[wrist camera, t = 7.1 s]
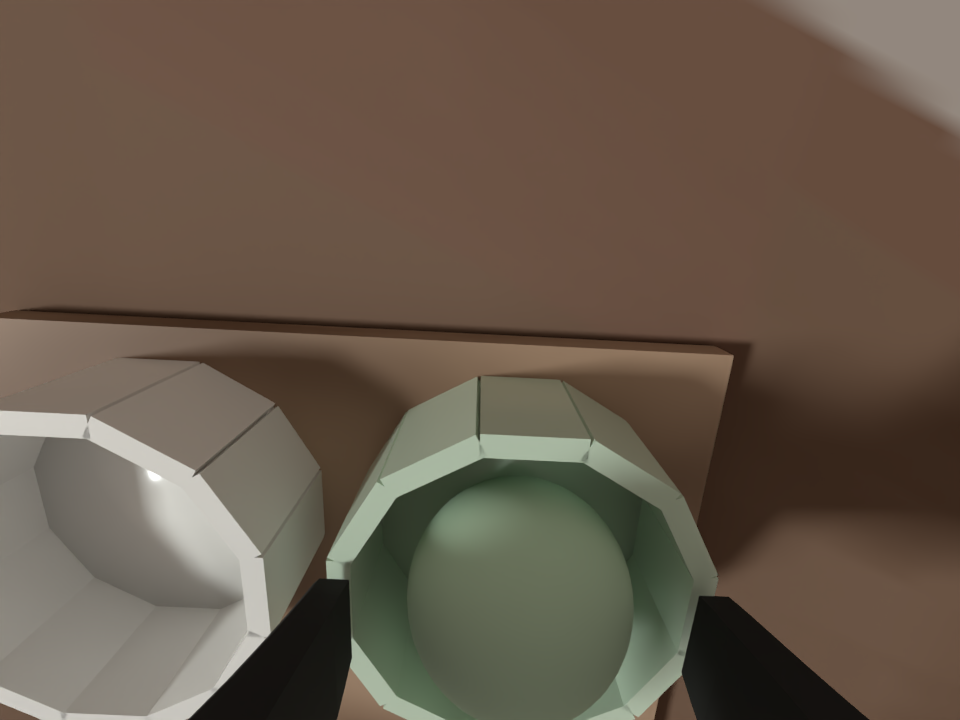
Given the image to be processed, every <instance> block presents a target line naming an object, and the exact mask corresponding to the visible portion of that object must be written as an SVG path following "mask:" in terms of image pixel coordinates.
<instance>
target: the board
mask: <svg viewBox="0 0 960 720" xmlns="http://www.w3.org/2000/svg"><path fill="white" fill-rule="evenodd" d="M115 358H116V359H117V358H136V359H156V360H176V361H196V362H200V364H201V363H204V364H206V365H208V366H210V367H212V368H213V369H215V370H217V371H219V372H220V373H222V374H224V375H226V376H228V377H229V378H231V379H233V380H235V381H237V382H238V383H240V384H242V385H244V386H245V387H247V388H249V389H251V390H253V391H254V392H256V393H258V394H260V395H262V396H263V397H265V398H267V399H269V400H270V401H272V402H274V403H275V405H274V408H275V407H277V406H279V408H280V409H281V411H282V412H283V413H284V415H285V416H286V418H287V419H288V421H289V422H290V424H291V425H292V427H293V428H294V430H295V431H296V432H297V434H298V435H299V437H300V438H301V440H302V441H303V443H304V444H305V446H306V447H307V449H308V450H309V451H310V453H311V454H312V456H313V457H314V459H315V460H316V462H317V463H318V465H319V466H320V469H319V470H321V471H322V489H323V507H324V525H325V534H324V538H323V540H322V541H321V543H320V545H319V547H318V549H317V551H316V553H315V555H314V557H313V559H312V561H311V563H310V565H309V567H308V569H307V571H306V573H305V574H304V576H303V578H302V580H301V582H300V584H299V586H298V588H297V590H296V592H295V594H294V596H293V598H292V600H291V602H290V604H289V605H288V607H287V609H286V611H285V613H284V615H283V617H282V619H281V621H282V620H283V619H284V617H285V616H286V615H287V614H288V613H289V612H290V610H291V609H292V608H293V607H294V606H295V605H296V603H297V602H298V601H299V600H300V599H301V598H302V596H303V595H304V594H305V593H306V592H307V591H308V589H309V588H310V587H311V586H312V585H313V583H314V582H316V581H317V580H318V579H319V578H322V579H327V571H326V560H327V556H328V554H329V552H330V550H331V548H332V545H333V543H334V541H335V539H336V537H337V535H338V533H339V531H340V529H341V526H342V524H343V522H344V520H345V518H346V516H347V514H348V512H349V510H350V507H351V505H352V503H353V501H354V499H355V497H356V495H357V493H358V491H359V488H360V486H361V484H362V482H363V480H364V478H365V476H366V474H367V472H368V470H369V468H370V466H371V465H372V463H373V462H374V460H375V459H376V457H377V456H378V454H379V453H380V451H381V450H382V448H383V446H384V445H385V443H386V442H387V440H388V439H389V437H390V436H391V434H392V433H393V431H394V429H395V428H396V426H397V425H398V423H399V422H400V420H401V419H402V417H403V416H404V414H405V413H406V412H408V410H409V409H411V408H413V407H415V406H417V405H419V404H421V403H423V402H426V401H428V400H430V399H432V398H434V397H436V396H438V395H440V394H442V393H444V392H446V391H448V390H450V389H452V388H454V387H457V386H459V385H461V384H463V383H465V382H467V381H469V380H471V379H473V378H475V377H478V379H479V381H481V376H496V377H516V378H536V379H556V380H560V381H561V383H562V382H563V381H564V382H566V383H568V384H569V385H571V386H572V387H574V388H575V389H577V390H579V391H580V392H582V393H583V394H585V395H587V396H588V397H590V398H591V399H593V400H594V401H596V402H598V403H599V404H601V405H602V406H604V407H605V408H607V409H609V410H610V411H612V412H613V413H615V414H616V415H618V416H620V417H621V418H623V419H624V420H626V421H627V423H628V424H629V425H630V426H631V428H632V429H633V430H634V432H635V433H636V434H637V436H638V437H639V438H640V439H641V441H642V442H643V443H644V445H645V446H646V447H647V449H648V450H649V451H650V453H651V454H652V455H653V457H654V458H655V459H656V461H657V462H658V463H659V465H660V466H661V467H662V469H663V470H664V471H665V473H666V474H667V475H668V477H669V478H670V479H671V481H672V482H673V483H674V484H675V486H676V487H677V488H678V490H679V491H680V492H681V494H682V495H683V496H684V498H685V501H686V503H687V505H688V507H689V510H690V512H691V514H692V517H693V519H694V521H695V523H696V526H697V522H698V517H699V512H700V508H701V503H702V499H703V494H704V490H705V485H706V481H707V476H708V471H709V467H710V462H711V458H712V453H713V449H714V444H715V440H716V435H717V430H718V426H719V421H720V417H721V412H722V408H723V403H724V399H725V394H726V389H727V385H728V380H729V376H730V371H731V367H732V362H733V358H734V355H732V354H730V353H728V352H726V351H724V350H722V349H720V348H718V347H716V346H707V345H688V344H668V343H649V342H629V341H609V340H590V339H570V338H550V337H531V336H511V335H491V334H472V333H452V332H433V331H413V330H393V329H374V328H354V327H334V326H315V325H295V324H275V323H256V322H236V321H217V320H197V319H177V318H158V317H138V316H118V315H99V314H79V313H59V312H40V311H20V310H15V311H9V312H4V313H0V399H1V398H4V397H7V396H10V395H13V394H16V393H18V392H21V391H24V390H27V389H30V388H33V387H36V386H38V385H41V384H44V383H47V382H50V381H53V380H55V379H58V378H61V377H64V376H67V375H70V374H73V373H75V372H78V371H81V370H84V369H87V368H90V367H93V366H95V365H98V364H101V363H104V362H107V361H110V360H112V359H115ZM281 621H280V622H281ZM658 699H659V698H658ZM658 699H657V700H656V701H655V702H653V703H652V704H651V705H650V706H649V707H648V708H647V709H646V710H645V711H644V712H643V713H642V714H641V715H640V716H639V717H637V716H635V715H634V717H635V719H634V720H654V718H655V713H656V708H657V704H658ZM383 706H384V705H382V706H380V705H379V704H378V703H377V702H376V700H375V699H374V698H373V696H372V695H371V694H370V693H369V691H368V690H367V689H366V687H365V686H364V685H363V683H362V682H361V681H360V680H359V678H358V677H357V676H356V674H355V673H354V672H353V670H352V669H351V668H349V672H348V677H347V681H346V685H345V689H344V693H343V697H342V702H341V706H340V710H339V714H338V717H337V720H407V719H405V718H402V717H400V716H398V715H396V714H394V713H392V712H390V711H387V710H385V709H383ZM188 719H189V718H188ZM188 719H186V720H188Z"/></svg>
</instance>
